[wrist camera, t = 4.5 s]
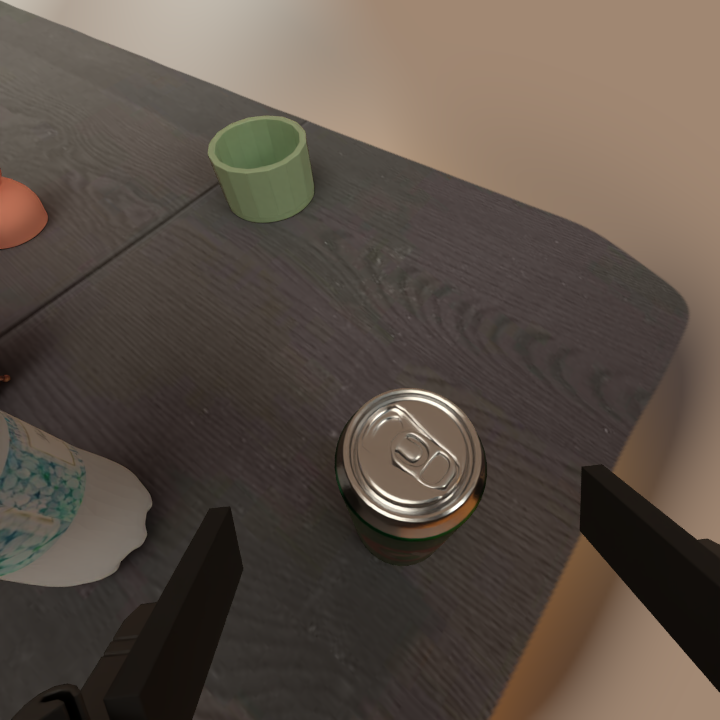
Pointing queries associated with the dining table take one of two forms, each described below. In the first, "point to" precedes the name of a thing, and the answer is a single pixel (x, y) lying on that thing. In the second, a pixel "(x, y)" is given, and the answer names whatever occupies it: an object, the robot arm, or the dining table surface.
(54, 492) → the bottle
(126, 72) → the dining table surface
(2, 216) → the pottery
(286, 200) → the cup
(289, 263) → the dining table surface
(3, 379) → the alarm clock
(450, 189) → the dining table surface
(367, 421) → the soda can
